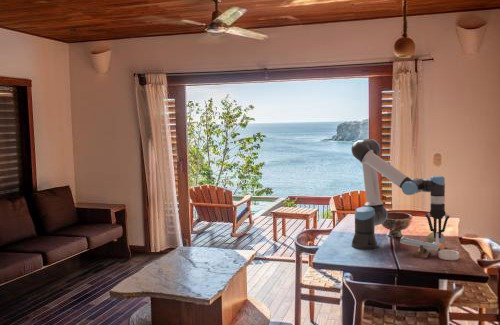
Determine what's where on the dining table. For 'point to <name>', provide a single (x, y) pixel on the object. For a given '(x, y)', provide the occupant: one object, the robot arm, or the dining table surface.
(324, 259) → the dining table surface
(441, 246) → the ball
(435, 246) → the lever
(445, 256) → the bowl
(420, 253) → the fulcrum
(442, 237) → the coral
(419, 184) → the robot arm
